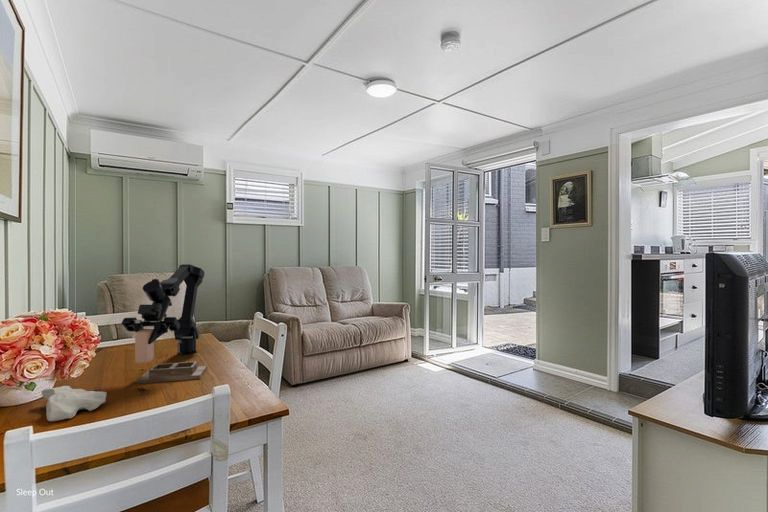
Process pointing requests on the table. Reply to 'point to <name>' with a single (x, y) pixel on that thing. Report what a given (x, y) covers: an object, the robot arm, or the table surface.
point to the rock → (70, 401)
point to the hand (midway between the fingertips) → (142, 343)
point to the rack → (173, 372)
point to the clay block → (143, 346)
